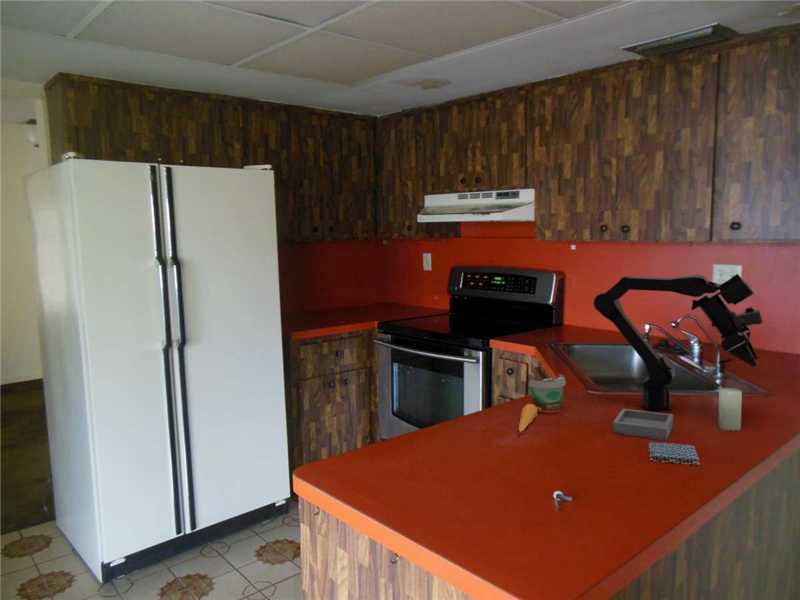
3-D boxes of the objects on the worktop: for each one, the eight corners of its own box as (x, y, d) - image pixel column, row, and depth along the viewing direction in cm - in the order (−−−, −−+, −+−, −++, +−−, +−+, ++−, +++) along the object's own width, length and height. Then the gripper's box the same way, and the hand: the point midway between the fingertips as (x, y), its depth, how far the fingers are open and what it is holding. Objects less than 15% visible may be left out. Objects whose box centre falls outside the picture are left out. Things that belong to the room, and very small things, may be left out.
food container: (542, 417, 170) (542, 383, 169) (529, 412, 175) (528, 379, 174) (575, 410, 175) (574, 377, 174) (560, 405, 181) (560, 373, 180)
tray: (612, 433, 155) (612, 422, 154) (622, 418, 166) (622, 408, 165) (666, 440, 148) (666, 429, 148) (673, 425, 159) (673, 414, 159)
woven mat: (694, 451, 142) (694, 443, 142) (700, 468, 132) (700, 459, 132) (647, 447, 146) (647, 439, 145) (650, 464, 136) (650, 455, 135)
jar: (727, 431, 153) (728, 394, 152) (713, 425, 158) (714, 388, 157) (745, 429, 154) (746, 392, 152) (731, 423, 159) (732, 387, 157)
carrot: (527, 417, 173) (521, 404, 172) (541, 413, 171) (535, 399, 170) (513, 448, 155) (505, 433, 155) (528, 444, 153) (521, 428, 153)
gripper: (745, 302, 151) (785, 354, 147) (748, 294, 166) (784, 340, 163) (705, 325, 156) (743, 375, 153) (711, 315, 172) (746, 360, 169)
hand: (755, 362), depth 159 cm, fingers open, 9 cm apart
